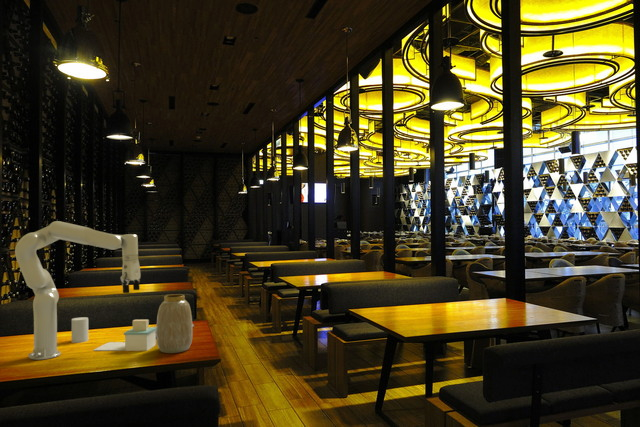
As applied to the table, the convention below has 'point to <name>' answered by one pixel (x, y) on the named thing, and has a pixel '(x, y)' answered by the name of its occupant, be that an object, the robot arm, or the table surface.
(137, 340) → the box
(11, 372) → the table surface
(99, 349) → the mat
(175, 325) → the vase
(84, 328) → the cup
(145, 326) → the lid
